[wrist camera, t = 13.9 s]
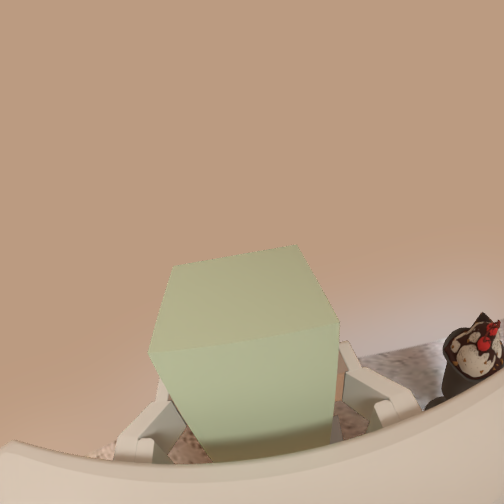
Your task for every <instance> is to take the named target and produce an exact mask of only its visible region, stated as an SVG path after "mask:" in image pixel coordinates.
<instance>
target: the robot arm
mask: <svg viewBox="0 0 504 504" xmlns="http://www.w3.org/2000/svg"><path fill="white" fill-rule="evenodd" d="M341 400H342V401H343V402H344V403H346V404H347V405H348V406H350V407H351V408H352V409H353V410H355V411H356V412H357V413H359V414H360V415H361V416H363V417H364V418H365V419H367V420H368V421H369V425H368V428H367V431H366V434H364V435H361V436H358V437H354V438H351V439H348V440H344V441H341V442H337V443H333V444H330V445H326V446H322V447H317V448H313V449H309V450H304V451H299V452H294V453H289V454H284V455H278V456H272V457H266V458H259V459H251V460H243V461H233V462H221V463H204V464H174V463H173V462H172V460H171V459H170V458H169V457H168V456H167V455H168V453H169V452H170V450H171V449H172V448H173V446H174V445H175V443H176V442H177V440H178V439H179V437H180V436H181V434H182V433H183V431H184V430H185V428H186V427H187V426H186V425H188V424H187V423H186V421H185V420H184V418H183V416H182V415H181V413H180V411H179V410H178V408H177V406H176V405H175V403H174V401H173V400H172V398H171V396H170V394H169V393H168V391H167V389H166V387H165V385H164V384H163V382H162V380H161V378H160V377H159V382H158V388H157V393H156V398H155V401H154V402H151V403H150V404H149V405H148V406H147V407H146V408H145V409H144V410H143V411H142V412H141V414H139V415H138V416H137V417H136V419H135V420H134V421H133V422H132V423H131V424H130V425H129V426H128V427H127V428H126V429H125V430H124V431H123V432H122V433H121V434H120V435H119V436H118V439H117V443H116V448H115V453H114V458H113V460H105V459H97V458H91V457H85V456H78V455H74V454H68V453H64V452H59V451H54V450H50V449H46V448H42V447H38V446H34V445H31V444H28V443H24V442H21V441H18V440H11V441H10V442H8V443H6V444H5V445H3V446H2V447H1V448H0V504H504V367H503V368H502V369H500V370H499V371H497V372H496V373H494V374H493V375H491V376H490V377H488V378H486V379H485V380H483V381H481V382H480V383H478V384H476V385H475V386H473V387H471V388H469V389H468V390H466V391H464V392H462V393H460V394H458V395H457V396H455V397H453V398H451V399H449V400H447V401H445V402H443V403H441V404H439V405H437V406H435V407H433V408H430V409H428V410H426V411H424V412H422V410H421V408H420V406H419V404H418V403H417V401H416V399H415V397H414V396H413V394H412V392H411V390H409V389H407V388H405V387H404V386H402V385H400V384H398V383H396V382H394V381H392V380H390V379H388V378H386V377H384V376H382V375H380V374H378V373H377V372H375V371H373V370H371V369H369V368H367V367H363V368H362V366H361V364H360V362H359V360H358V358H357V356H356V354H355V352H354V351H353V349H352V347H351V345H350V343H349V342H348V341H343V342H339V352H338V368H337V381H336V392H335V402H337V401H341Z"/></svg>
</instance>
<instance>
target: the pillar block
mask: <svg viewBox="0 0 504 504" xmlns="http://www.w3.org/2000/svg"><path fill="white" fill-rule="evenodd" d="M339 330H340V322H339V320H338V318H337V316H336V314H335V312H334V311H333V308H332V307H331V305H330V303H329V301H328V299H327V297H326V295H325V294H324V292H323V290H322V288H321V287H320V285H319V283H318V281H317V279H316V277H315V276H314V274H313V272H312V270H311V269H310V267H309V265H308V263H307V261H306V260H305V258H304V256H303V254H302V253H301V251H300V249H299V247H298V246H297V245H292V246H286V247H280V248H275V249H269V250H263V251H257V252H252V253H246V254H240V255H235V256H229V257H224V258H217V259H212V260H206V261H201V262H194V263H189V264H183V265H178V266H173V269H172V272H171V275H170V278H169V281H168V284H167V287H166V291H165V294H164V298H163V300H162V304H161V307H160V310H159V314H158V317H157V321H156V324H155V328H154V331H153V335H152V339H151V342H150V346H149V350H148V355H149V357H150V359H151V361H152V363H153V365H154V367H155V369H156V371H157V372H158V374H159V376H160V378H161V380H162V382H163V384H164V385H165V387H166V389H167V391H168V393H169V394H170V396H171V398H172V400H173V401H174V403H175V405H176V406H177V408H178V410H179V411H180V413H181V415H182V416H183V418H184V420H185V421H186V423H187V424H188V426H189V428H190V429H191V431H192V432H193V434H194V435H195V437H196V438H197V440H198V441H199V443H200V444H201V446H202V447H203V449H204V450H205V452H206V453H207V455H208V456H209V457H210V459H211V460H212V462H213V463H221V462H233V461H243V460H251V459H259V458H266V457H272V456H278V455H284V454H289V453H294V452H299V451H304V450H309V449H313V448H317V447H322V446H326V445H330V437H331V430H332V421H333V413H334V403H335V392H336V381H337V368H338V352H339Z"/></svg>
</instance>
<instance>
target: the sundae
mask: <svg viewBox="0 0 504 504" xmlns="http://www.w3.org/2000/svg"><path fill="white" fill-rule="evenodd" d="M500 323H501V322H500V321H499V320H498V322H495V323H494V322H493V321H492V320H491V319H490V318H489V317H488V316H487V315H485V313H483V312H482V313H481V314H480V315H479V317H478V318H477V319H476V321H475V322H474V324H473V325H472V327H471V328H459V329H457V330H455V331H453V332H452V333H451V334H450V335H449V336H448V337H447V339H446V340H445V343H444V345H443V354H444V357H445V358H446V360H447V365H446V369H445V373H444V377H443V382H442V393H443V395H444V397H439V398H436V399H434V400H432V401H431V402H430V403H429V404H428V405H427V407H426V409H425V411H426V410H428V409H430V408H433V407H435V406H437V405H439V404H441V403H443V402H445V401H447V400H449V399H451V398H453V397H455V396H457V395H458V394H460V393H462V392H464V391H466V390H468V389H469V388H471V387H473V386H475V385H476V384H478V383H480V382H481V381H483V380H485V379H486V378H488V377H490V376H491V375H493V374H494V373H496V372H497V371H499V370H500V369H502V368H503V367H504V346H503V344H502V342H501V341H500V334H499V331H498V329H499V328H500ZM496 324H497V325H496Z"/></svg>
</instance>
